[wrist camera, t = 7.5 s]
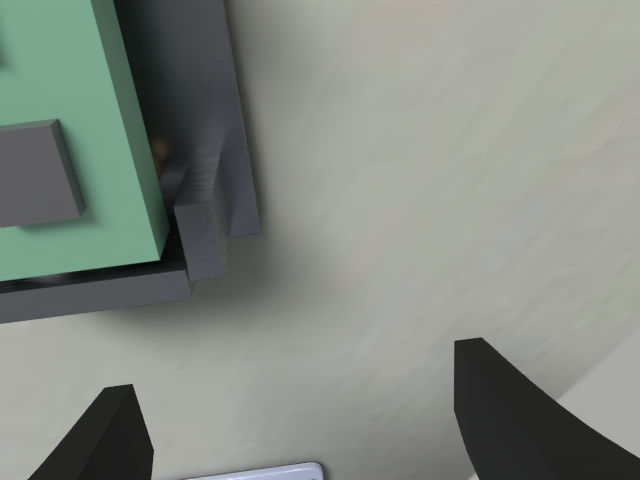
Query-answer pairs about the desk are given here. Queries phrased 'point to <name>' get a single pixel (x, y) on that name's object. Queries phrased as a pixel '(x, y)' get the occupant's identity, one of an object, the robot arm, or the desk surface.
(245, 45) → the desk surface
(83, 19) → the board
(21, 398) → the desk surface
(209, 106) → the chassis
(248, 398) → the desk surface
